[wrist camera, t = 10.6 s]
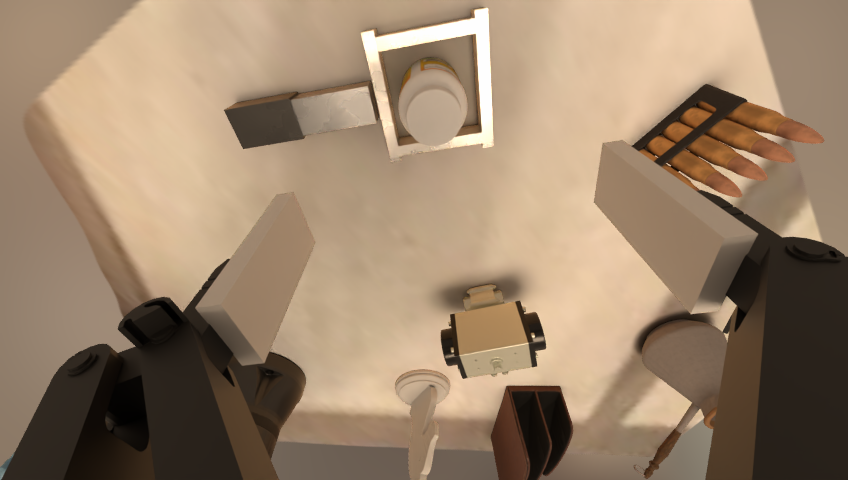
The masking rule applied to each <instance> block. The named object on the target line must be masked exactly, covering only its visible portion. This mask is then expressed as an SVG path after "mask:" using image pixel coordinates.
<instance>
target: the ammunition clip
mask: <svg viewBox="0 0 848 480" xmlns="http://www.w3.org/2000/svg"><path fill="white" fill-rule="evenodd" d="M754 130H755V131H758V132H763V133H769V134H772V135H775V136H780V137H783V138H785V139H789V140H793V141H797V142H803V143H815V144H816V143H823V142H824V138H823V137H822V136H821V135H820V134H819V133H818V132H816V131H815V130H813V129H812V128H810V127H808V126H806V125H804V124H802V123H799V122H796V121H794V120H792V119H789V118H787V117H784V116H783V115H781V114H780V113H778V112H776V111H774V110H770V109H767V108H764V107H761V106H758V105H755V104H752V103H749V102H747V100H746V99H744V98H742V97H739V96H737V95H734V94H731V93H729V92H726V91H724V90H721V89H719V88H716V87H713V86H711V85H708V84H706V85H704V86H702V87H701V88H700V89H699V90H698V91H696V92H695V93H694V94H693V95H692V96H691V97H689V98H688V99H687V100H686V101H685V102H684V103H682V104H681V105H680V106H679V107H678V108H676V109H675V110H674V111H673V112H672V113H671V114H669V115H668V116H667V117H666V118H665V119H664V120H662V121H661V122H660V123H659V124H658V125H656V126H655V127H654V128H653V129H652V130H651V131H649V132H648V133H647V134H646V135H645V136H644V137H642V138H641V139H640V140H639V141H638V142H636V143H635V144H634V145H633V146H632V147H633V148H635V149H636V150H637V151H639V152H640V153H642V154H643V155H645V156H646V157H648V158H649V159H650V160H652V161H653V162H655V163H656V164H658V165H659V166H661V167H662V168H663V169H665V170H666V171H668V172H669V173H671V174H672V175H674V176H675V177H677V178H678V179H679V180H681V181H682V182H684V183H685V184H687V185H688V186H690V187H691V188H692V189H694V190H695V191H699V189H698V188H697V187H695V186H694V185H693V184H692V183H691V181H690V180H689V179H688V178H686V177H685V176H683V175H682V174H680V173H679V172H678V171H681V172H682V173H684V174H685V175H687V176H688V177H690V178H691V179H693V180H696V181H699V182H701V183H703V184H705V185H706V186H709V187H711V188H712V189H714V190H716V191H718V192H720V193H722V194H725V195H728V196H732V197H742V193H741V191H740V189H739V188H738V187H737V186H736V185H735V184H734V183H733V182H732V181H731V180H730V179H728V178H727V177H725V176H724V175H722V174H721V173H720V172H718V171H717V170H715V169H714V168H713V167H712V166H711V165H710V164H709V163H707V162H706V161H708V162H710V163H712V164H714V165H717V166H721V167H723V168H725V169H728V170H731V171H732V172H734V173H736V174H738V175H741V176H744V177H747V178H750V179H755V180H767V179H768V177H767V175H766V173H765V172H764V171H763V170H762V169H761V168H760V167H759V166H758V165H756V164H755V163H753V162H752V161H750V160H748V159H746V158H745V157H743V156H742V155H740V154H738V153H736V152H735V151H734V150H733V149H732V148H731V147H733V148H735V149H739V150H744V151H747V152H749V153H752V154H755V155H758V156H760V157H763V158H766V159H769V160H773V161H778V162H786V163H790V162H794V161H795V158H794V156H793V155H792V154H791V153H790V152H789V151H788V150H786V149H785V148H784V147H782V146H780V145H779V144H777V143H775V142H773V141H770V140H768V139H767V138H765V137H763V136H761V135H759V134H757V133H756V132H755V131H754ZM719 141H720V142H719ZM673 142H674V143H673ZM721 142H722V143H721ZM723 143H724V144H723ZM725 144H726V145H725ZM727 145H728V146H727ZM729 146H731V147H729ZM685 149H686V150H685ZM687 150H688V151H687ZM689 151H690V152H689ZM655 155H656V156H657V157H659V158H657V157H655ZM698 156H699V157H701V158H703V159H704V160H706V161H704V160H702V159H701V158H699V157H698ZM666 163H668V164H670V165H671V167H670V166H668V165H667V164H666Z"/></svg>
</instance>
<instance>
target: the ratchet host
mask: <svg viewBox="0 0 848 480" xmlns="http://www.w3.org/2000/svg"><path fill="white" fill-rule="evenodd" d="M470 34H472V38H473V53H474V68H475V83H476V98H477V113H478V125H472V126H466V127H461V128H460V130H459V132H458V133H457V135H456V136H455V137H454V138H453V139H452V140H451V141H450V142H448V143H446V144H444V145H441V146H436V147H433V146H426V145H423V144H421V143H419V142H418V141H416V140H415V139H414V138H413V137H412V135H411V136H405V137H399V134H398V129H397V124H396V120H395V115H394V110H393V105H392V100H391V96H390V91H389V86H388V81H387V76H386V72H385V67H384V62H383V57H382V52H381V51H385V50H390V49H396V48H401V47H406V46H412V45H417V44H422V43H427V42H433V41H438V40H443V39H449V38H454V37H459V36H464V35H470ZM361 36H362V40H363V44H364V48H365V53H366V57H367V61H368V66H369V70H370V74H371V78H372V83H373V87H374V91H375V96H376V100H377V104H378V109H379V113H380V117H381V121H382V126H383V130H384V134H385V139H386V143H387V147H388V152H389V156H390V160H391V163H392V162H399V161H401V158H402V156H405V155H411V154H417V153H424V152H430V151H436V150H442V149H448V148H455V147H461V146H467V145H473V144H479V143H481V144H482V147H483V148H486V147H493V122H492V98H491V73H490V49H489V25H488V8H483V7H482V8H477V9H472V10H471V17H468V18H463V19H458V20H453V21H448V22H442V23H437V24H432V25H427V26H422V27H417V28H411V29H406V30H401V31H396V32H391V33H385V34H380V35H378V33H377V28H375V29H370V30H365V31H363V32H361ZM372 83H371V81H366V82H361V83H355V84H350V85H344V86H339V87H333V88H328V89H322V90H317V91H311V92H306V93H300V94H298V92H293V93H287V94H282V95H276V96H271V97H265V98H260V99H254V100H249V101H243V102H238V103H235V104H234V105H232V106H230V107H229V108H227V109H225V110H224V111H225V113H226V115H227V117H228V119H229V121H230V123H231V125H232V127H233V129H234V131H235V133H236V135H237V137H238V139H239V141H240V144H241V146H242V148H243V149H246V148H252V147H258V146H264V145H270V144H276V143H281V142H287V141H293V140H299V139H304V138H305V137H306V135H312V134H318V133H323V132H329V131H335V130H341V129H347V128H353V127H359V126H365V125H370V124H376V123H377V121H378V118H379V113H378V109H377V105H376V101H375V96H374V92H373V88H372Z"/></svg>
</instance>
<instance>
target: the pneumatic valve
mask: <svg viewBox="0 0 848 480" xmlns="http://www.w3.org/2000/svg"><path fill="white" fill-rule="evenodd" d="M495 288H496V286H495V285H492V284H488V285H484V286H479V287H474V288H469V290H467V293H468V295H470V296H469V297H464V298H463V302H464V307H465V312H460V313H455V314H450V318H451V321H450V322H448V323H449V326H451V328H449V329H444V330H441V344H442V350H443V354H444V358H445V361H446V364H447V365H448V366H453V365H458V371H460V373H461V376H462V378H463V379H464V378H470V377H476V376H482V375H488V374H491V375H492V376H493V377H495V376H497V373H500V372H502V373H503V374H504V375H506V374H508V371H512V370H518V369H524V368H530V367H536V366H537V361H536V358H538V356H537V353H535V351H538V350H544V349H546V342H545V337H544V333H543V329H542V326H541V323H540V320H539V317H538V315H537V313H536V312H532V313H527V314H524V312H526V309H525V307H522V305H521V302H520V301H516V302H511V303H506V304H504V299H503V295H502V292H501V290H498V291H493V289H495Z"/></svg>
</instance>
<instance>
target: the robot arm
mask: <svg viewBox="0 0 848 480" xmlns="http://www.w3.org/2000/svg"><path fill="white" fill-rule="evenodd" d="M594 203H595V204H596V205H597V206H598V208H599V209H600V210H601V211H602V212H603V213H604V214H605V216H606V217H607V218H608V219H609V220H610V221H611V223H612V224H613V225H614V226H615V227H616V228H617V230H618V231H619V232H620V233H621V234H622V235H623V236H624V238H625V239H626V240H627V241H628V242H629V243H630V245H631V246H632V247H633V248H634V249H635V250H636V251H637V253H638V254H639V255H640V256H641V257H642V258H643V260H644V261H645V262H646V263H647V264H648V265H649V266H650V268H651V269H652V270H653V271H654V272H655V273H656V275H657V276H658V277H659V278H660V279H661V280H662V282H663V283H664V284H665V285H666V286H667V287H668V288H669V290H670V291H671V292H672V293H673V294H674V295H675V297H676V298H677V299H678V300H679V301H680V302H681V303H682V305H683V306H684V307H685V308H686V309H687V310H688V312H689V313H690V314H696V313H705V312H714V311H719V309H720V307H721V305H722V303H723V301H724V299H725V297H726V296H728V297H729V298H730V299H731V300H732V301H733V302H734V303H735V304H736V305H737V306H736V308H735V310H734V312H733V314H732V315H731V317H730V319H729V321H728V323H727V325H726V326H725V328H724V330H723V333H726V334H728V332H729V336H728V343H727V349H726V355H725V361H724V367H723V374H722V380H721V386H720V392H719V398H718V405H717V411H716V417H715V423H714V429H713V436H712V442H711V448H710V454H709V461H708V467H707V473H706V480H848V257H845V256H844V254H842V253H841V252H840V251H838V250H837V249H835V248H834V247H831V246H829V245H826V244H824V243H822V242H819V241H815V240H811V239H807V238H798V237H783V238H782V237H780V236H779V235H777V234H776V233H774V232H773V231H771V230H770V229H768V228H767V227H765V226H764V225H762V224H761V223H759V222H757V221H756V220H754V219H753V218H751V217H750V216H748V215H747V214H744V212H742V211H741V210H739V209H738V208H736V207H733V205H732V204H730V203H728V202H727V201H725V200H724V199H722V198H721V197H719V196H716V195H714V194H711V193H708V192H705V191H703V190H699V191H695V190H694V189H692V188H691V187H690V186H688V185H687V184H685V183H684V182H682V181H681V180H679V179H678V178H677V177H675V176H674V175H672V174H671V173H669V172H668V171H666V170H665V169H663V168H662V167H661V166H659V165H658V164H656V163H655V162H653V161H652V160H650V159H649V158H648V157H646V156H645V155H643V154H642V153H640V152H639V151H637V150H636V149H635V148H633V147H632V146H630V145H629V144H627V143H626V142H624V141H623V140H620V141H614V142H607V143H603V145H602V152H601V158H600V165H599V171H598V178H597V184H596V191H595V198H594ZM314 244H315V240H314V238H313V236H312V233H311V231H310V229H309V227H308V224H307V222H306V220H305V218H304V215H303V213H302V211H301V208H300V206H299V204H298V202H297V199H296V197H295V195H294V192H292V193H285V194H279V195H276V197H275V198H274V199H273V201H272V202H271V204H270V205H269V206H268V208H267V209H266V210H265V212H264V213H263V215H262V216H261V217H260V219H259V220H258V222H257V223H256V224H255V226H254V227H253V228H252V230H251V231H250V233H249V234H248V235H247V237H246V238H245V239H244V241H243V242H242V244H241V245H240V246H239V248H238V249H237V251H236V252H235V253H234V255H233V256H232V257H231V259H227V260H226V261H225V262H223V263H222V264H221V265H220V266H219V267H217V268H216V269H215V270H214V272H213V273H212V274H211V276H210V277H209V278H208V281H206V282H205V284H204V285H203V286H202V290H199V292H198V293H197V294H196V296H195V297H194V298H193V300H192V301H191V302H190V304H189V305H188V306H187V308H186V309H185V310H184V312H183V313H182V312H181V310H180V309H179V308H178V307H177V306H176V305H175V303H174V302H173V301H172V300H171V299H170V298H167V297H160V298H156V299H152V300H150V301H147V302H145V303H143V304H141V305H140V306H138V307H136V308H135V309H133V310H132V311H131V312H130V313H128V314H127V315H126V316H125V317H124V318H123V320H122V321H121V322H120V324H119V327H118V330H119V331H120V332H121V333H122V334H123V335H124V336H125V337H126V338H127V339H129V340H130V341H131V342H132V343H133V344H134V345H135V346H136V347H133V348H131V349H128V350H125V351H122V352H120V353H117V352H116V351H115V350H113V349H112V348H111V347H110V346H109V345H107V344H98V345H95V346H92V347H89V348H87V349H85V350H83V351H80V352H78V353H77V354H75V356H72V357H71V358H69V359H68V360H67V362H65V363H64V364H63V366H61V367H60V368H59V369H58V371H57V372H56V374H55V375H54V377H53V378H52V380H51V382H50V385H49V386H48V388H47V390H46V392H45V394H44V396H43V398H42V400H41V402H40V404H39V406H38V408H37V410H36V412H35V414H34V416H33V418H32V420H31V422H30V424H29V426H28V428H27V430H26V432H25V434H24V436H23V438H22V440H21V442H20V443H19V446H18V448H17V449H16V451H15V452H14V454H13V455H12V456H11V458H10V459H8V460H7V461H6V462H5V463H4V464H3V465H2V466H1V467H0V480H279V479H278V476H277V474H276V471H275V469H274V467H273V464H272V462H271V457H272V454H273V451H274V448H275V445H276V442H277V439H278V435H279V432H280V430H281V428H282V426H283V425H284V423H285V422H286V420H287V419H288V417H289V416H290V414H291V413H292V411H293V409H294V408H295V406H296V404H297V403H298V402H299V401H300V399H301V397H302V395H303V391H304V388H305V384H306V379H305V376H304V374H303V372H302V371H301V369H300V368H299V367H298V366H296V365H295V364H294V363H292V362H291V361H289V360H287V359H285V358H283V357H281V356H278V355H276V354H272V353H269V351H270V349H271V346H272V344H273V341H274V339H275V337H276V334H277V332H278V330H279V327H280V325H281V323H282V320H283V318H284V315H285V313H286V311H287V308H288V306H289V304H290V301H291V299H292V297H293V294H294V292H295V289H296V287H297V285H298V282H299V280H300V278H301V275H302V273H303V271H304V268H305V266H306V263H307V261H308V259H309V256H310V254H311V252H312V249H313V247H314Z"/></svg>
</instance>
